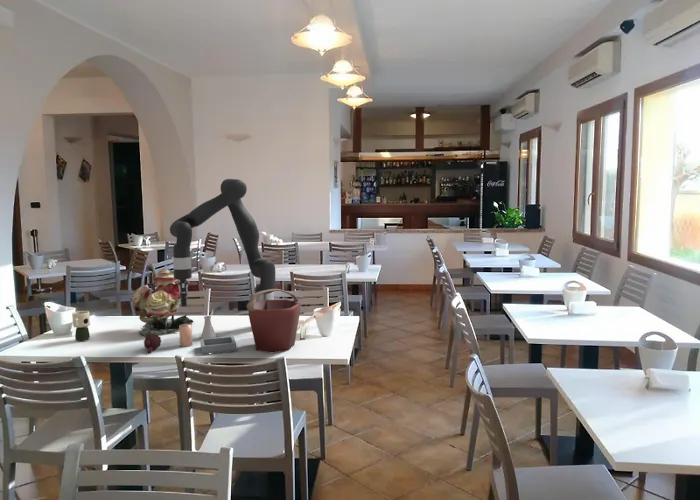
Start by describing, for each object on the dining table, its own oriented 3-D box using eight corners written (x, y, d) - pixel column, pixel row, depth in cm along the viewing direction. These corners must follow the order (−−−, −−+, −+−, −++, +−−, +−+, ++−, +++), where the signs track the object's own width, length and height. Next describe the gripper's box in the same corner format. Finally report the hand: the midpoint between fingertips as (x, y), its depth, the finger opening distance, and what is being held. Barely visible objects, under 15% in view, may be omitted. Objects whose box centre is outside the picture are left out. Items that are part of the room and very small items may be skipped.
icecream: (146, 330, 253) (135, 343, 238) (163, 326, 252) (152, 338, 238) (152, 344, 254) (141, 358, 239) (168, 340, 254) (158, 353, 239)
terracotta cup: (192, 343, 255) (191, 323, 254) (192, 346, 250) (191, 325, 249) (180, 344, 253) (178, 324, 252) (180, 347, 248) (179, 327, 247)
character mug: (85, 343, 257) (82, 315, 255) (69, 343, 257) (67, 315, 255) (95, 336, 267) (94, 309, 266) (80, 337, 267) (78, 309, 266)
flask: (212, 340, 259) (211, 318, 257) (197, 339, 260) (196, 318, 259) (219, 336, 266) (218, 315, 264) (204, 335, 267) (203, 314, 266)
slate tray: (233, 343, 252) (233, 336, 252) (236, 351, 241) (236, 343, 241) (200, 346, 248) (200, 339, 248) (202, 354, 237) (201, 346, 237)
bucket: (251, 357, 233) (249, 297, 230) (239, 343, 253) (237, 287, 250) (308, 349, 242) (307, 291, 239) (292, 336, 263) (291, 283, 260)
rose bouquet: (132, 326, 286) (129, 267, 282) (193, 321, 295) (190, 263, 291) (130, 340, 261) (126, 275, 258) (196, 333, 270) (193, 271, 267)
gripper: (191, 269, 242) (193, 307, 243) (190, 264, 255) (192, 300, 257) (173, 270, 239) (174, 308, 241) (173, 265, 253) (174, 301, 255)
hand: (183, 304), depth 249 cm, fingers open, 8 cm apart
